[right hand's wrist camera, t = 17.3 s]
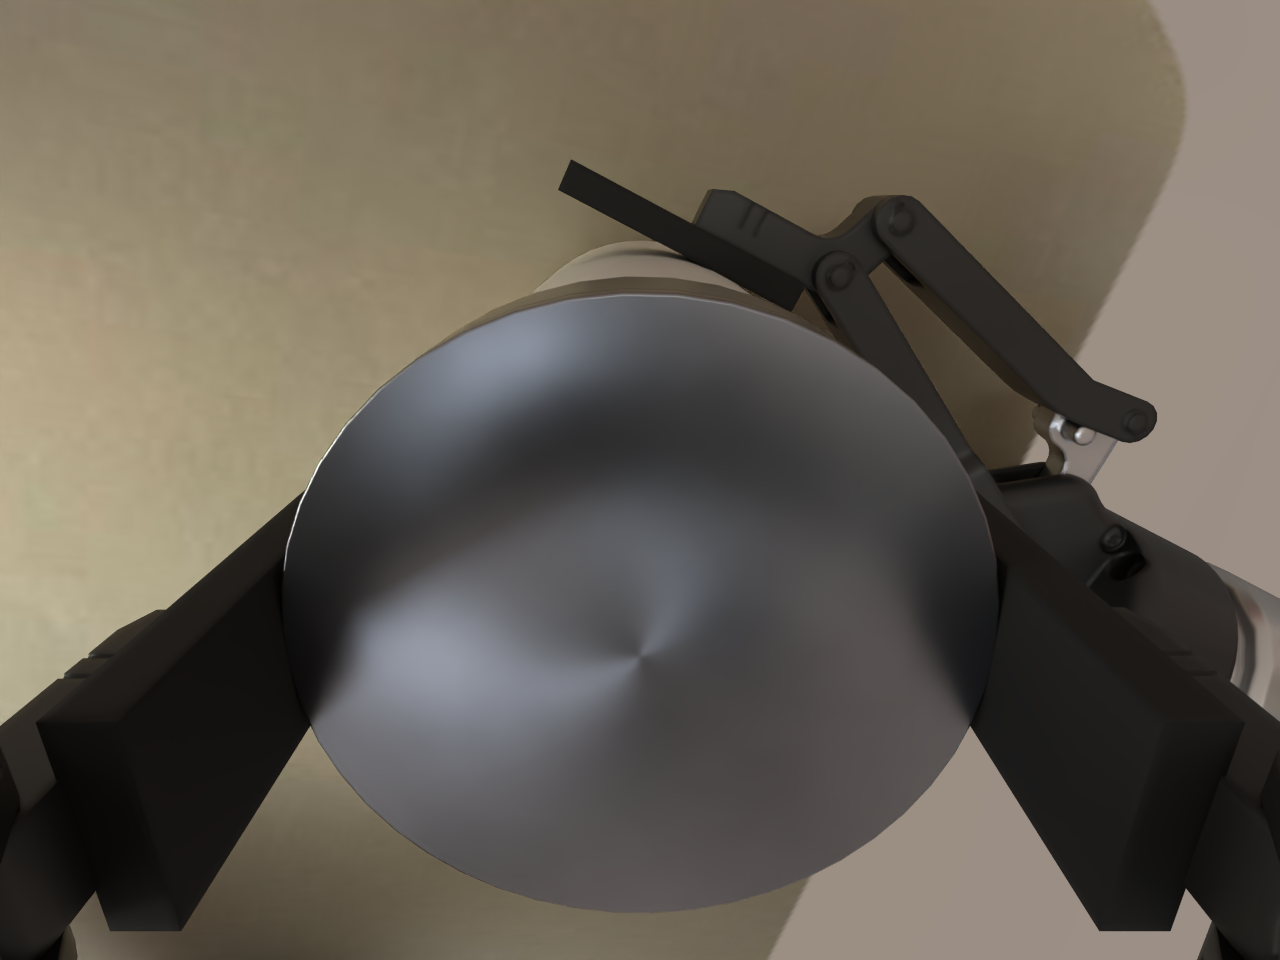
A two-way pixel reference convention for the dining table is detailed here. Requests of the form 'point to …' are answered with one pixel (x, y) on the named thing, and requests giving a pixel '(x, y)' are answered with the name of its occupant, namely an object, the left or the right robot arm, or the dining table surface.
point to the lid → (640, 598)
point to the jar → (634, 266)
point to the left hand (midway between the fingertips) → (495, 350)
